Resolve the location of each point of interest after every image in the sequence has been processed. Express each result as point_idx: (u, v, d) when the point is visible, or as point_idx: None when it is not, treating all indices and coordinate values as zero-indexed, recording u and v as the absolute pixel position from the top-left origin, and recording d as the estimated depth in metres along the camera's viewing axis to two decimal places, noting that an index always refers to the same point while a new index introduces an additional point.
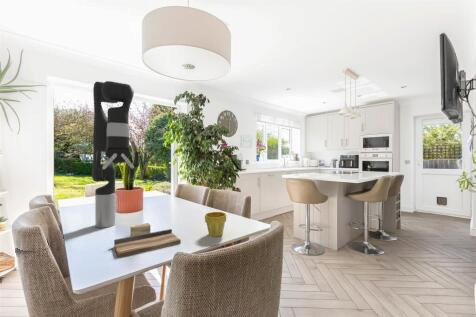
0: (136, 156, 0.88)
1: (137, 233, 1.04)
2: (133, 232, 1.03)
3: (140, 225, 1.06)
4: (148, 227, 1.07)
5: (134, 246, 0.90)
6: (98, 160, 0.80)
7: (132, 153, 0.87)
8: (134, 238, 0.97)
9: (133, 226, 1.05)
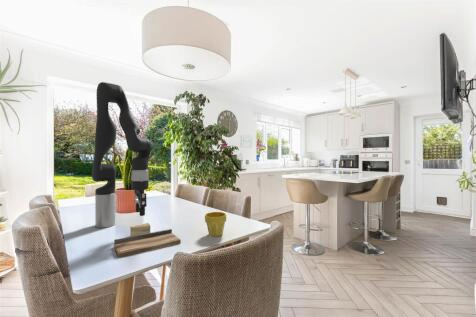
0: None
1: (137, 233, 1.04)
2: (133, 232, 1.03)
3: (140, 225, 1.06)
4: (148, 227, 1.07)
5: (134, 246, 0.90)
6: None
7: None
8: (134, 238, 0.97)
9: (133, 226, 1.05)
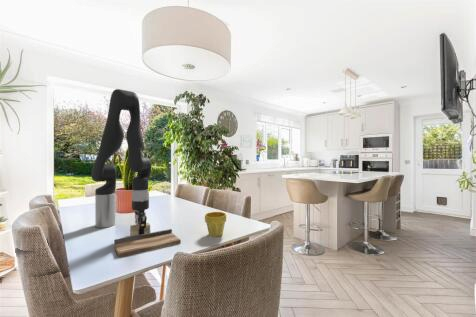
0: None
1: (137, 233, 1.04)
2: (133, 232, 1.03)
3: None
4: (148, 226, 1.07)
5: (134, 246, 0.90)
6: (145, 222, 1.03)
7: None
8: (134, 238, 0.97)
9: (133, 226, 1.05)
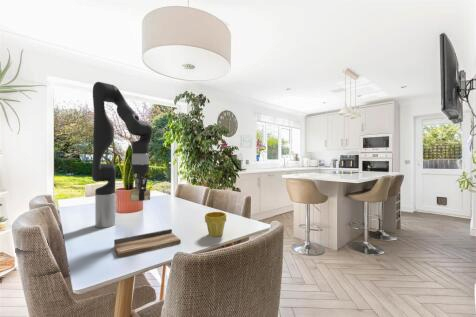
0: None
1: (137, 197, 1.03)
2: (133, 195, 1.02)
3: None
4: (148, 191, 1.06)
5: (134, 246, 0.90)
6: (145, 186, 1.02)
7: None
8: (134, 238, 0.97)
9: (133, 190, 1.04)
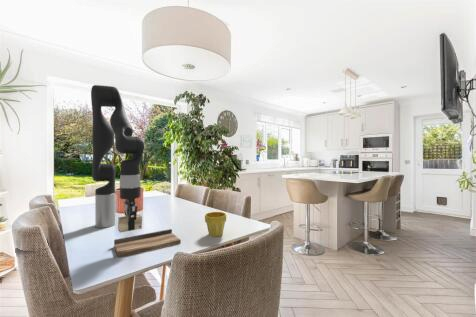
0: None
1: (126, 226, 0.87)
2: (121, 224, 0.86)
3: None
4: (139, 218, 0.90)
5: (134, 246, 0.90)
6: None
7: None
8: (134, 238, 0.97)
9: (121, 218, 0.88)
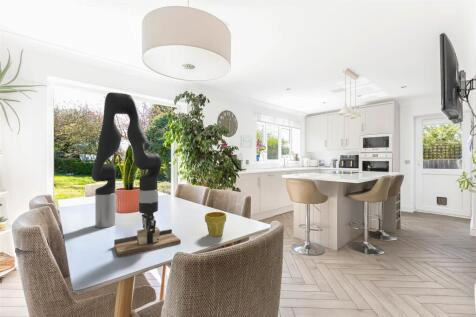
0: None
1: (144, 239, 0.92)
2: (140, 238, 0.91)
3: None
4: (157, 231, 0.94)
5: (134, 246, 0.90)
6: None
7: None
8: (134, 238, 0.97)
9: (140, 231, 0.92)
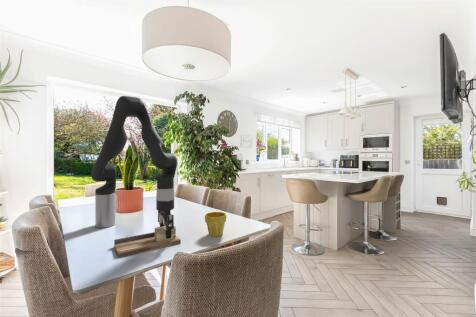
0: None
1: (162, 236, 0.96)
2: (158, 235, 0.95)
3: None
4: (173, 229, 0.99)
5: (134, 246, 0.90)
6: None
7: None
8: (134, 238, 0.97)
9: (158, 228, 0.97)
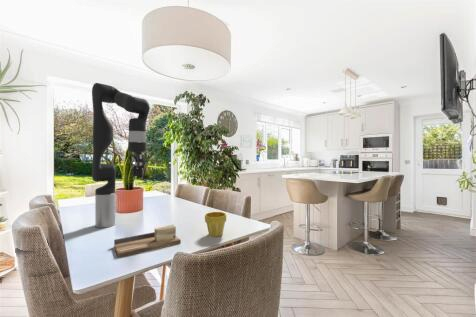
0: None
1: (162, 236, 0.96)
2: (158, 235, 0.95)
3: (165, 227, 0.98)
4: (173, 229, 0.99)
5: (134, 246, 0.90)
6: (143, 162, 0.98)
7: None
8: (134, 238, 0.97)
9: (158, 228, 0.97)
